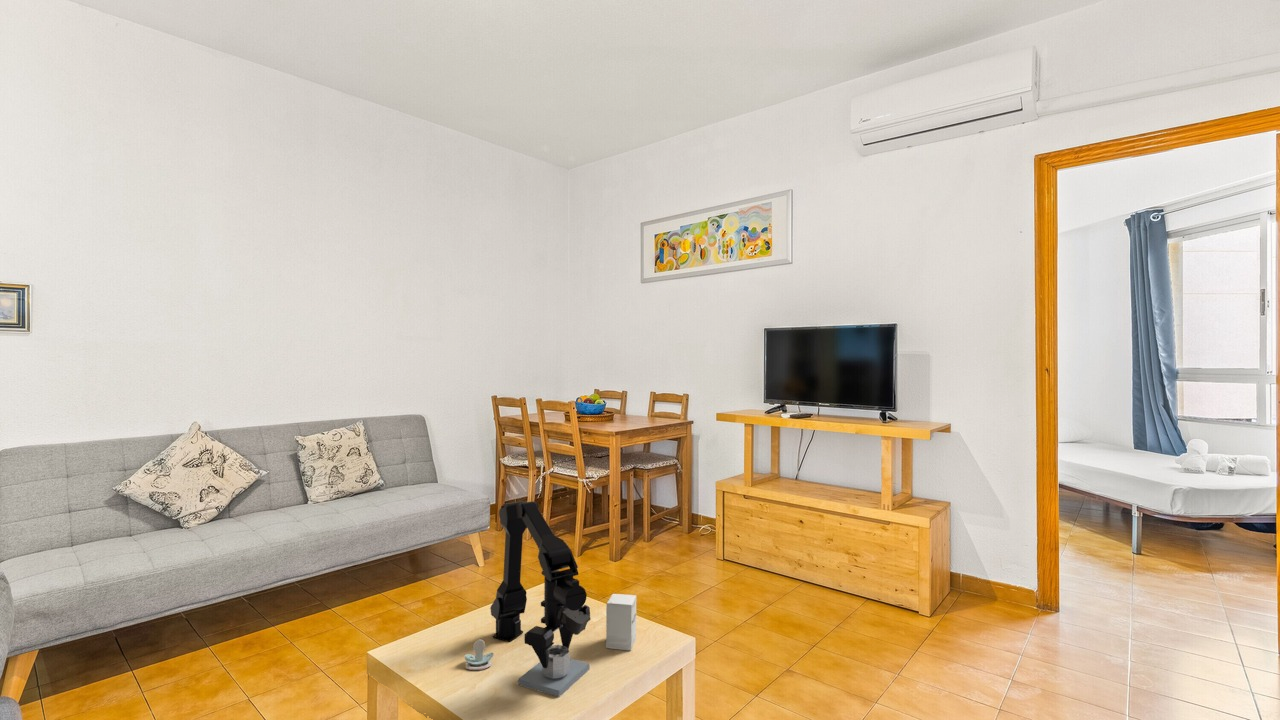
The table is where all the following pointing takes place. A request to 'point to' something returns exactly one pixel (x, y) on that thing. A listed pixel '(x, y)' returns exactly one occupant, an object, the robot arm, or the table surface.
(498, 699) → the table surface
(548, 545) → the robot arm
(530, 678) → the block
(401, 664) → the table surface
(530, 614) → the table surface
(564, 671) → the hub
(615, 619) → the supplement box
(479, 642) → the pacifier
